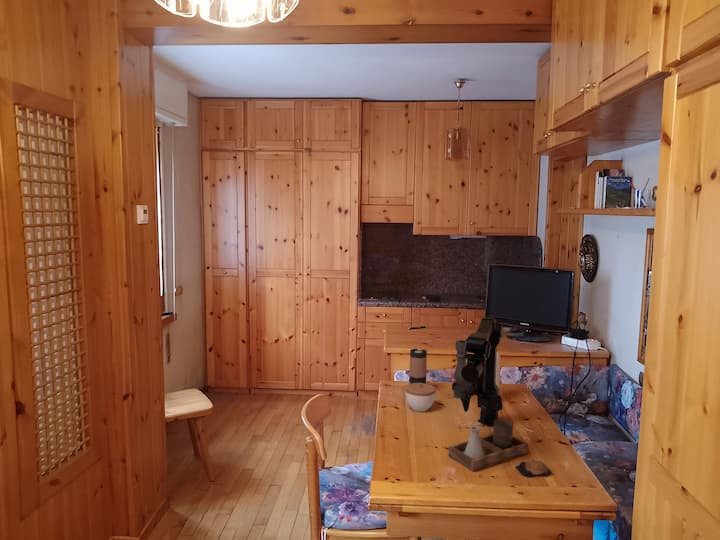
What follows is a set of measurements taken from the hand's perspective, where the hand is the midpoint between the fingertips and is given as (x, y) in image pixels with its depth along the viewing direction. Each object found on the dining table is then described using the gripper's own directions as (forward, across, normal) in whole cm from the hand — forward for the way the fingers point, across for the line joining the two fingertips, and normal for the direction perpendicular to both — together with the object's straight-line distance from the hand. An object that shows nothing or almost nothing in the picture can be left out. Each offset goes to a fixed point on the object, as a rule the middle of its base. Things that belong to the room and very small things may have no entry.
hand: (475, 416), depth 176 cm
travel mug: (+14, -55, +17) cm, 59 cm away
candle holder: (+14, -43, +32) cm, 55 cm away
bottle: (+14, -32, +39) cm, 52 cm away
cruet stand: (+12, +5, +2) cm, 13 cm away
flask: (+11, +5, -5) cm, 13 cm away
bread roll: (+13, +20, +7) cm, 25 cm away
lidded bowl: (+13, -40, +7) cm, 43 cm away
